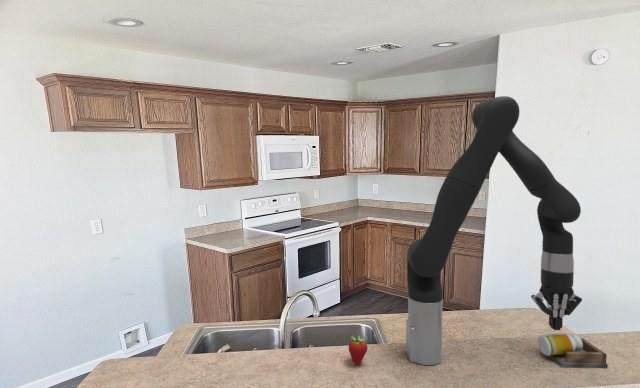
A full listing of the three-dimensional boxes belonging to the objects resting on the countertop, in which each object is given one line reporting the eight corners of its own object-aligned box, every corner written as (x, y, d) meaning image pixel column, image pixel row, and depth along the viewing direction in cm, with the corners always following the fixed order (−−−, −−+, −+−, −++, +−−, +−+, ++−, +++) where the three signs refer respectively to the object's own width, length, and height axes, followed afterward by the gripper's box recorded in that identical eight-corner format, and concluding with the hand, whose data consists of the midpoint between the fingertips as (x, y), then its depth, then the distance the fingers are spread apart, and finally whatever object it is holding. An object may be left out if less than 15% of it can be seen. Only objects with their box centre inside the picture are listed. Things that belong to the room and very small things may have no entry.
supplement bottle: (550, 358, 96) (586, 356, 96) (547, 338, 97) (583, 335, 97) (538, 351, 102) (573, 349, 101) (536, 332, 102) (570, 329, 102)
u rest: (560, 367, 95) (561, 354, 94) (539, 348, 105) (539, 337, 104) (607, 368, 94) (608, 355, 94) (581, 349, 104) (581, 337, 104)
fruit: (367, 359, 99) (367, 331, 99) (367, 369, 94) (367, 340, 94) (349, 358, 100) (348, 330, 100) (348, 368, 95) (348, 339, 94)
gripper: (540, 271, 95) (538, 335, 96) (591, 271, 94) (589, 335, 95) (525, 264, 102) (524, 323, 103) (572, 264, 101) (571, 323, 102)
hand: (555, 329), depth 99 cm, fingers closed
